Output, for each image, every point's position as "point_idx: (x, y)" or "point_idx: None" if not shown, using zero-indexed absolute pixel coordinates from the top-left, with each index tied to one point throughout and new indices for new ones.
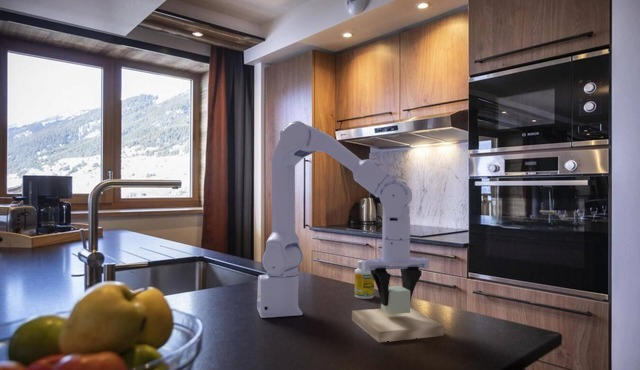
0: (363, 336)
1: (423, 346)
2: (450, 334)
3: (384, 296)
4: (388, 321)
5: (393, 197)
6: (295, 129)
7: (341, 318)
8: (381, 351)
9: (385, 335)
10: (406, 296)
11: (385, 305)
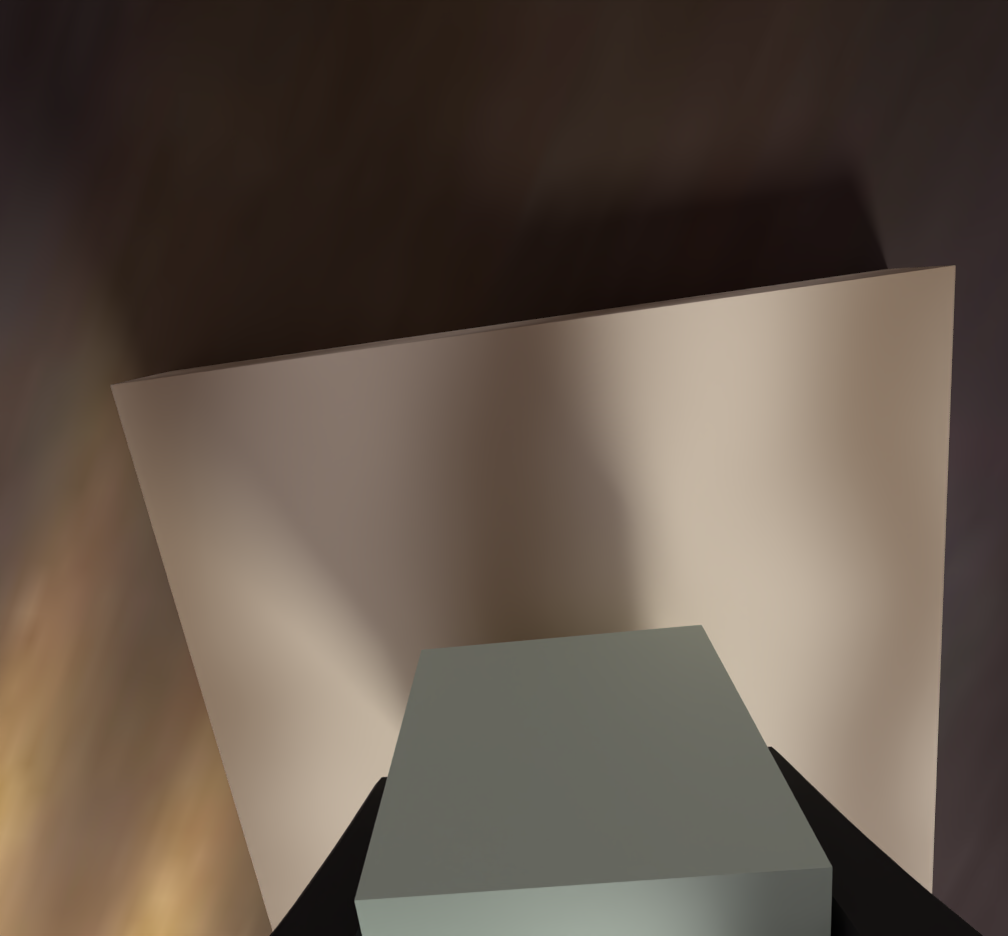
0: (966, 450)
1: (484, 92)
2: (89, 394)
3: (868, 839)
4: (690, 596)
5: None
6: None
7: (953, 911)
8: (982, 3)
9: (847, 278)
10: (454, 804)
11: (768, 747)
